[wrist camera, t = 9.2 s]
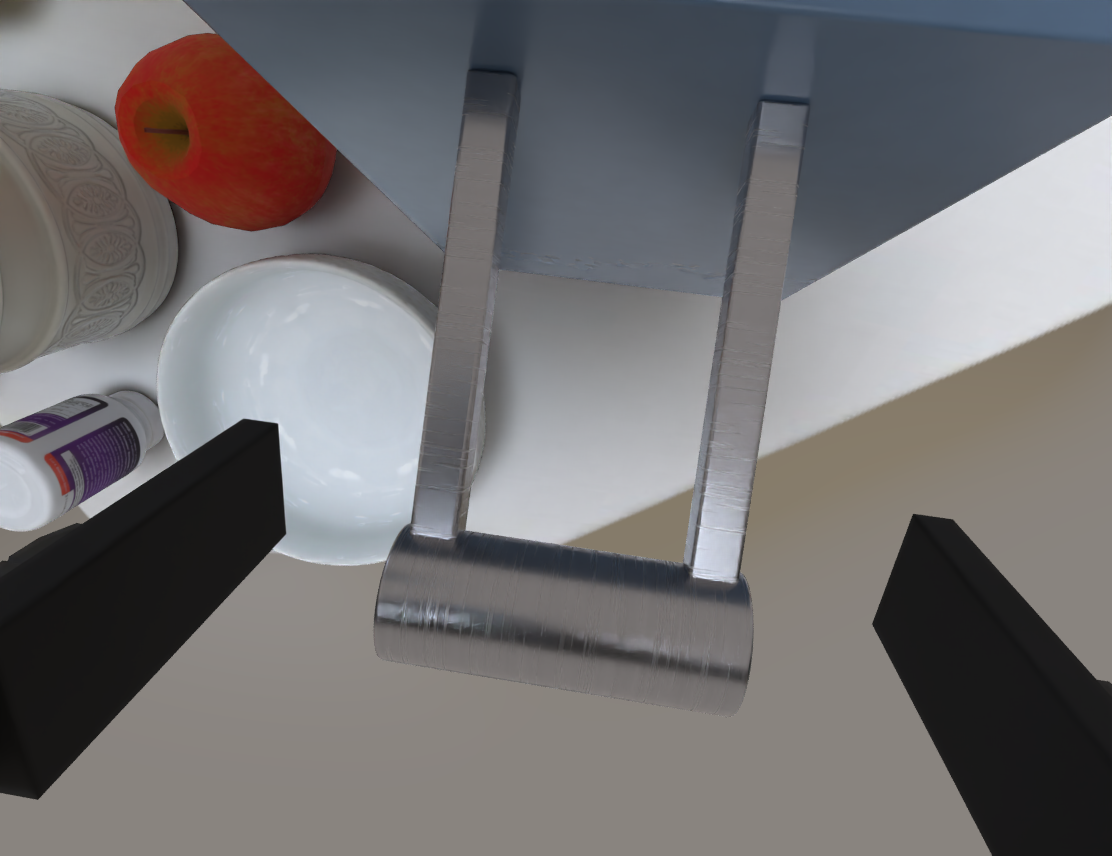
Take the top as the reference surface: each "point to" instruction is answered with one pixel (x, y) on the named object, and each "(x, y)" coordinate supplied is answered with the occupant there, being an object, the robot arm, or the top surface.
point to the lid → (649, 246)
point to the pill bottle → (71, 454)
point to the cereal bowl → (312, 391)
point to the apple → (220, 137)
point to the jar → (74, 231)
